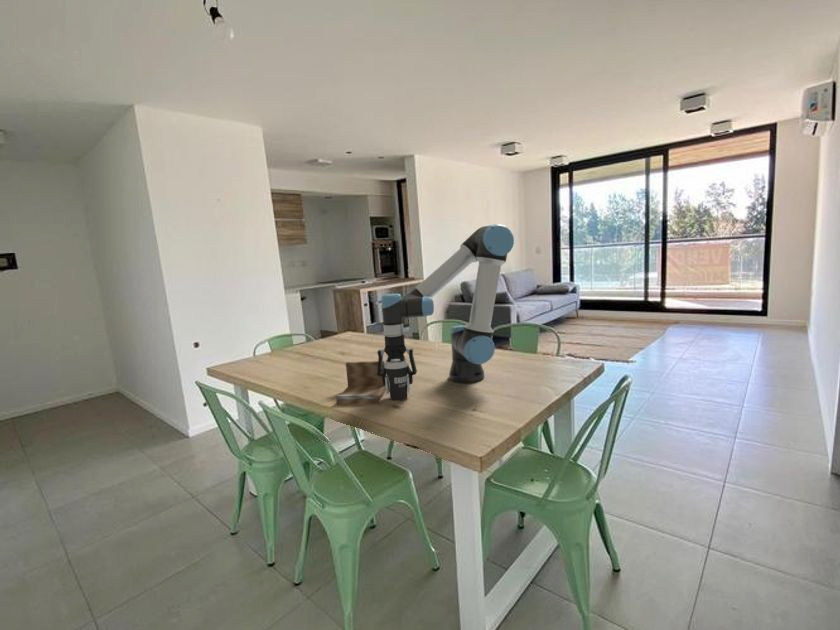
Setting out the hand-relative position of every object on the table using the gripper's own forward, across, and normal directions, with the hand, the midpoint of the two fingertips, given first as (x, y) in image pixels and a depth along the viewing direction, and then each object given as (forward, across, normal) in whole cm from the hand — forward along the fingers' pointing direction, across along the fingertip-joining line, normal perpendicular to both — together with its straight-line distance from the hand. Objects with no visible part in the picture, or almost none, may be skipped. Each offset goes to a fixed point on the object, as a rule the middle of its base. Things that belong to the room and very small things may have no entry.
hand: (398, 392), depth 164 cm
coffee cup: (+2, 0, 0) cm, 2 cm away
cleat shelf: (+2, +15, -3) cm, 15 cm away
